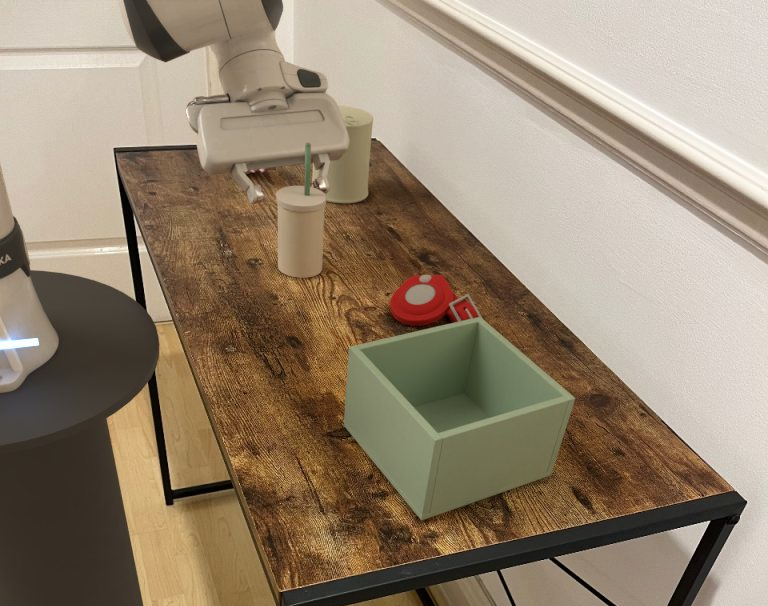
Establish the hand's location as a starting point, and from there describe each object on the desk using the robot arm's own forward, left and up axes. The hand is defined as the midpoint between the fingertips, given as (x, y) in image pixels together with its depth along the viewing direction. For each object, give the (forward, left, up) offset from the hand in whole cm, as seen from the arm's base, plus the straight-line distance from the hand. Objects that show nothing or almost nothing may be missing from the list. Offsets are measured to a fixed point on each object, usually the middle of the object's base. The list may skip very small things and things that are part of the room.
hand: (290, 197), depth 102 cm
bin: (-3, -44, -8) cm, 45 cm away
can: (+17, +18, -8) cm, 26 cm away
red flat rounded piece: (+10, -21, -8) cm, 25 cm away
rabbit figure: (+6, +30, -9) cm, 32 cm away
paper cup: (0, -3, -8) cm, 9 cm away
